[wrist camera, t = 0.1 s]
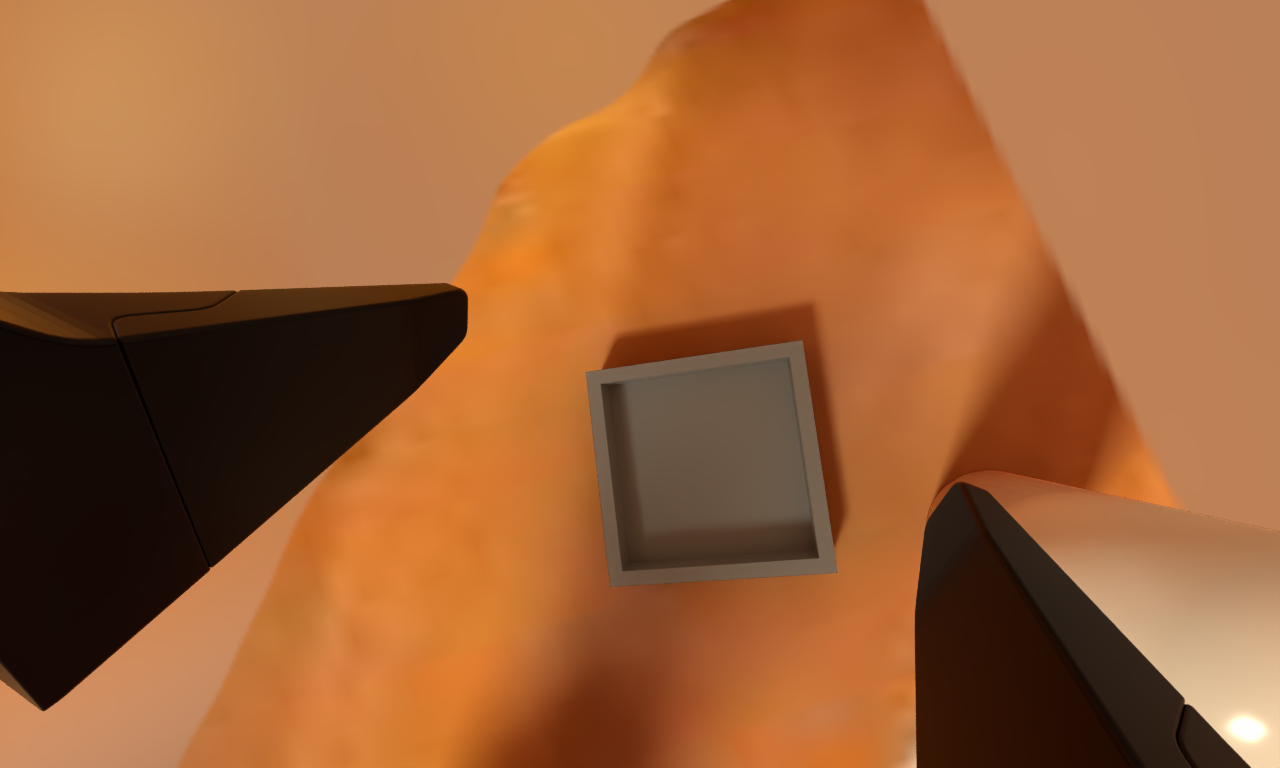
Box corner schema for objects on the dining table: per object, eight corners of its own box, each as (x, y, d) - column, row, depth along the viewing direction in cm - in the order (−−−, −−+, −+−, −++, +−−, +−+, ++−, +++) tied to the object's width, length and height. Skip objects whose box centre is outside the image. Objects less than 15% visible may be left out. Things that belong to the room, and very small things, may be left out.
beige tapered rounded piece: (1077, 593, 20) (1606, 881, 8) (937, 600, 21) (1203, 864, 9) (1052, 463, 21) (1515, 536, 8) (916, 476, 22) (1141, 558, 9)
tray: (830, 559, 22) (837, 572, 20) (621, 573, 24) (610, 587, 22) (798, 346, 23) (802, 339, 21) (598, 375, 25) (585, 372, 23)
